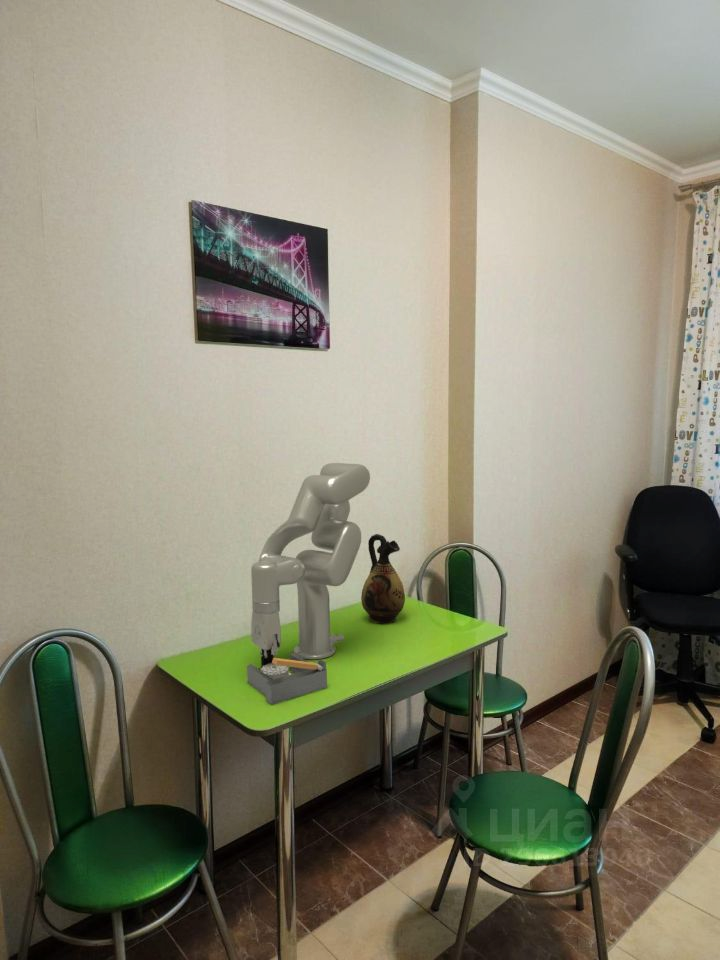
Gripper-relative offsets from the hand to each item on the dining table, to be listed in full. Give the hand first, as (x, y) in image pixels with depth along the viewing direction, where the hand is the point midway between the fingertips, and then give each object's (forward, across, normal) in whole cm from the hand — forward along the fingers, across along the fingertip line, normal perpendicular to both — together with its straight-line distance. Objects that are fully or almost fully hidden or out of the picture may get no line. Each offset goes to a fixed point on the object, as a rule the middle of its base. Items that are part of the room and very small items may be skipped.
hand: (267, 669), depth 180 cm
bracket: (+1, +9, 0) cm, 10 cm away
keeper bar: (-6, +16, +1) cm, 17 cm away
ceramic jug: (+1, -19, +54) cm, 57 cm away
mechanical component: (+2, +6, -1) cm, 6 cm away
